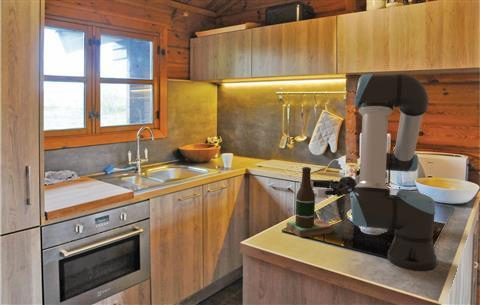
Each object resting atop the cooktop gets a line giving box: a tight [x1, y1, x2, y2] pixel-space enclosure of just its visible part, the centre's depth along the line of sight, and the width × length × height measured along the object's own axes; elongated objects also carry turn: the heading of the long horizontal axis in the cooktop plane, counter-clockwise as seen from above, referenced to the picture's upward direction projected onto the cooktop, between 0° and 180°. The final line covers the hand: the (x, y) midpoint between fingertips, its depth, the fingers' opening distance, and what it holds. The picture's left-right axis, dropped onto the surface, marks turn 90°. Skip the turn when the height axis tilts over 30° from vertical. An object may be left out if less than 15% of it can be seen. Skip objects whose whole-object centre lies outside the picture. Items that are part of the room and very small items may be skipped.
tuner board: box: [286, 218, 333, 238], centre depth 162 cm, size 11×15×3 cm
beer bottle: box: [295, 166, 316, 228], centre depth 159 cm, size 8×8×24 cm
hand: (308, 189), depth 159 cm, fingers open, 13 cm apart
